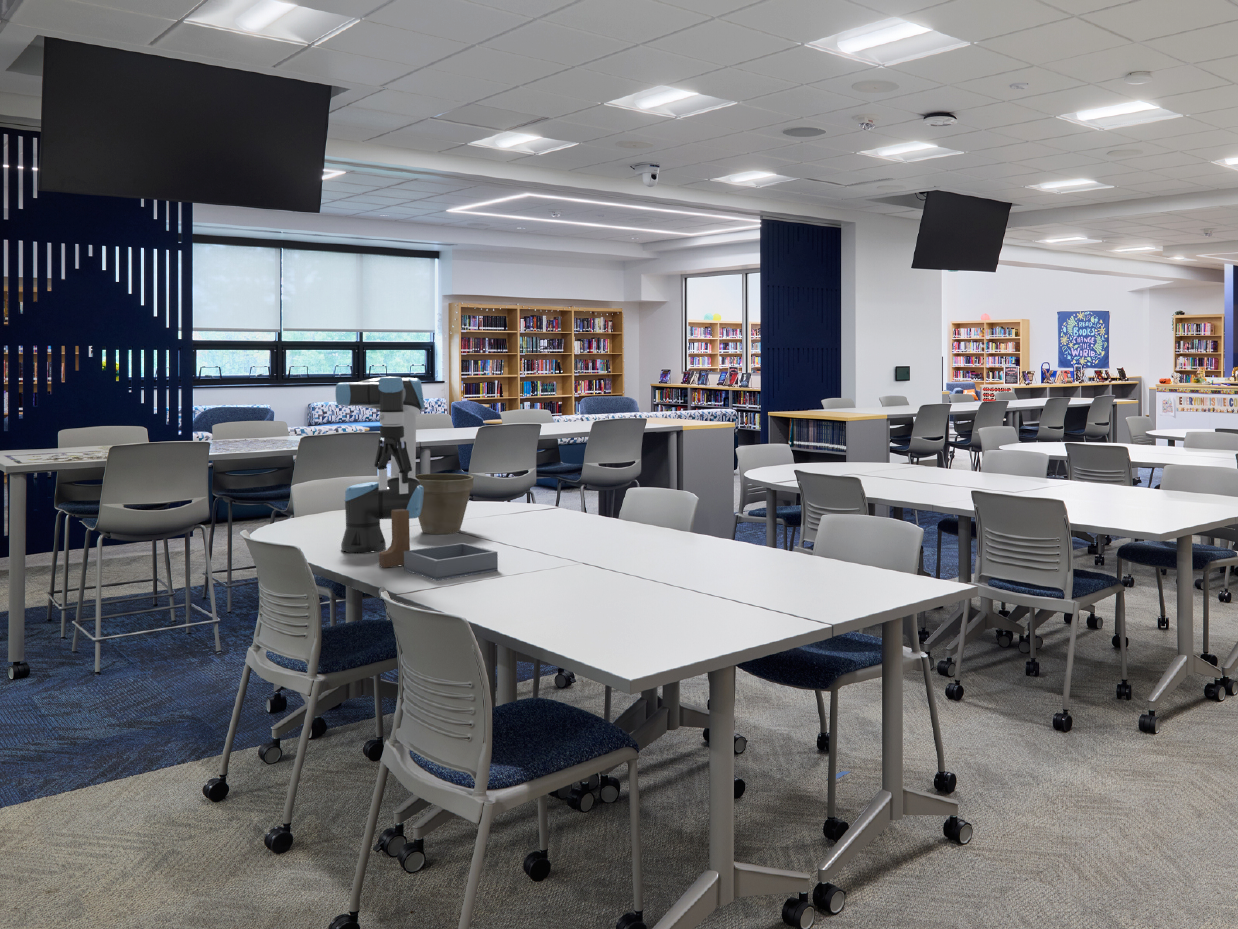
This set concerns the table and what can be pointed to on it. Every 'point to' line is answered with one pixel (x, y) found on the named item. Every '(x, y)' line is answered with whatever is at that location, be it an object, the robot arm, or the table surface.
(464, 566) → the open-top box
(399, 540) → the wooden block
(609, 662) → the table surface
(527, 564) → the table surface
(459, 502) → the plant pot
